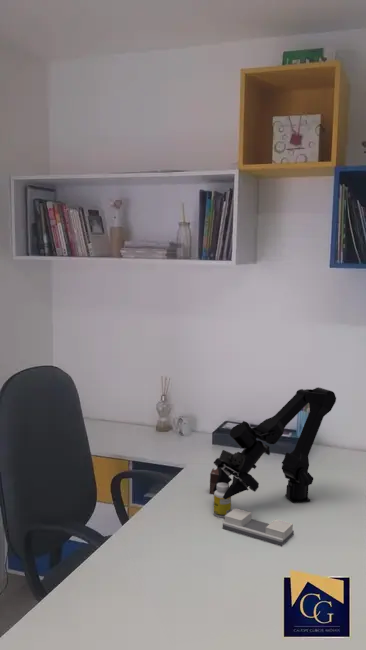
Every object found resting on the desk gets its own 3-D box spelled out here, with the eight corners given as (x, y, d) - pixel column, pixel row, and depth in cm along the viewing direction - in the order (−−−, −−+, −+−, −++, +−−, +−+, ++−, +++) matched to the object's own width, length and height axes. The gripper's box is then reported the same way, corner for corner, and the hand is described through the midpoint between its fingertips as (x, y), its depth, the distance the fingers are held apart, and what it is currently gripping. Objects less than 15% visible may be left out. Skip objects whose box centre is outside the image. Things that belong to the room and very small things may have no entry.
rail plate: (222, 528, 182) (223, 516, 182) (236, 518, 190) (236, 507, 190) (281, 546, 172) (282, 533, 172) (293, 534, 180) (294, 522, 180)
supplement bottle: (212, 511, 195) (213, 481, 194) (229, 510, 195) (230, 481, 194) (214, 518, 190) (215, 487, 189) (231, 518, 190) (233, 487, 189)
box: (226, 496, 208) (227, 475, 207) (209, 494, 209) (209, 473, 208) (228, 489, 214) (229, 469, 213) (211, 487, 215) (212, 467, 214)
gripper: (219, 433, 200) (189, 470, 196) (252, 449, 184) (220, 490, 180) (238, 453, 205) (209, 490, 201) (272, 471, 188) (241, 511, 184)
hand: (219, 495), depth 191 cm, fingers closed on supplement bottle, 5 cm apart
